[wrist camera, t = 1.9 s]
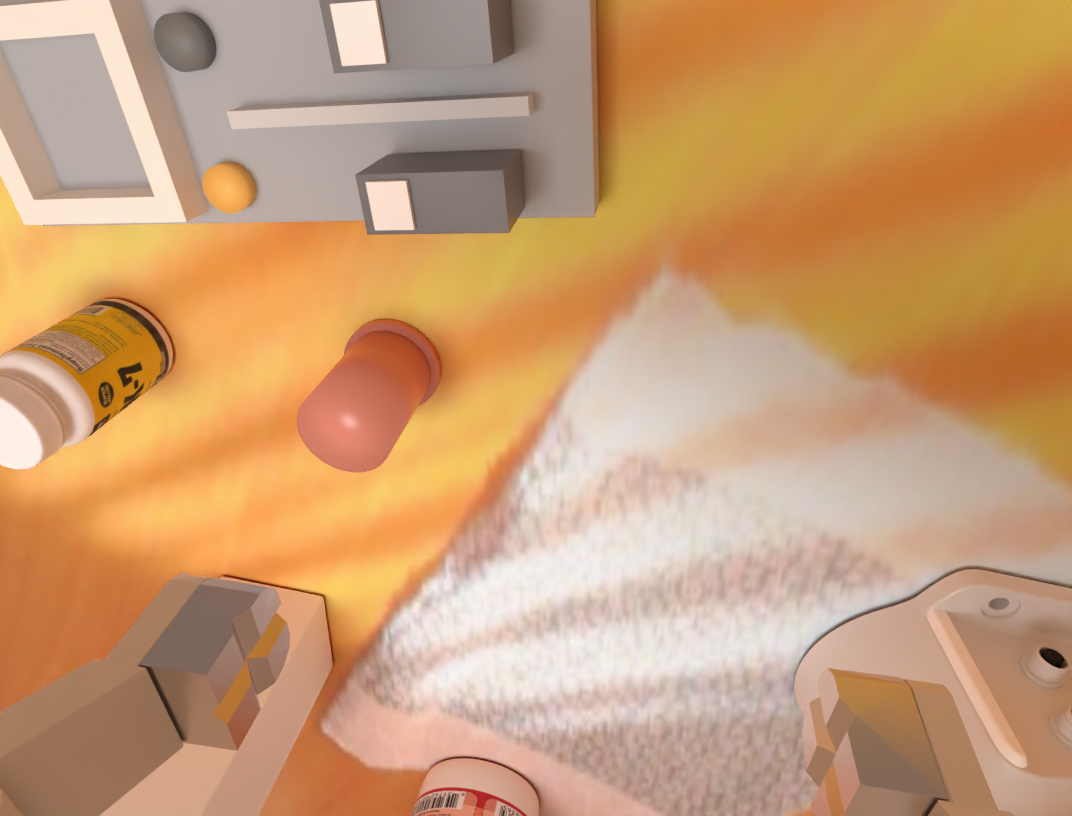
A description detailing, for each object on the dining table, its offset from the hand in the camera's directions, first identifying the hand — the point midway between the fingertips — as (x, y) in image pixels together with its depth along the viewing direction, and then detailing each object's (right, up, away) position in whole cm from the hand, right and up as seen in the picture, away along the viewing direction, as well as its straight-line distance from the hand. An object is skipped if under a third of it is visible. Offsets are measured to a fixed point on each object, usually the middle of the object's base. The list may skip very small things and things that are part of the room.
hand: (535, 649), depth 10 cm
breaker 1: (-3, +16, +12) cm, 21 cm away
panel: (-10, +18, +15) cm, 25 cm away
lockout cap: (-7, +6, +22) cm, 24 cm away
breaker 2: (-3, +12, +15) cm, 19 cm away
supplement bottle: (-21, +7, +24) cm, 33 cm away
